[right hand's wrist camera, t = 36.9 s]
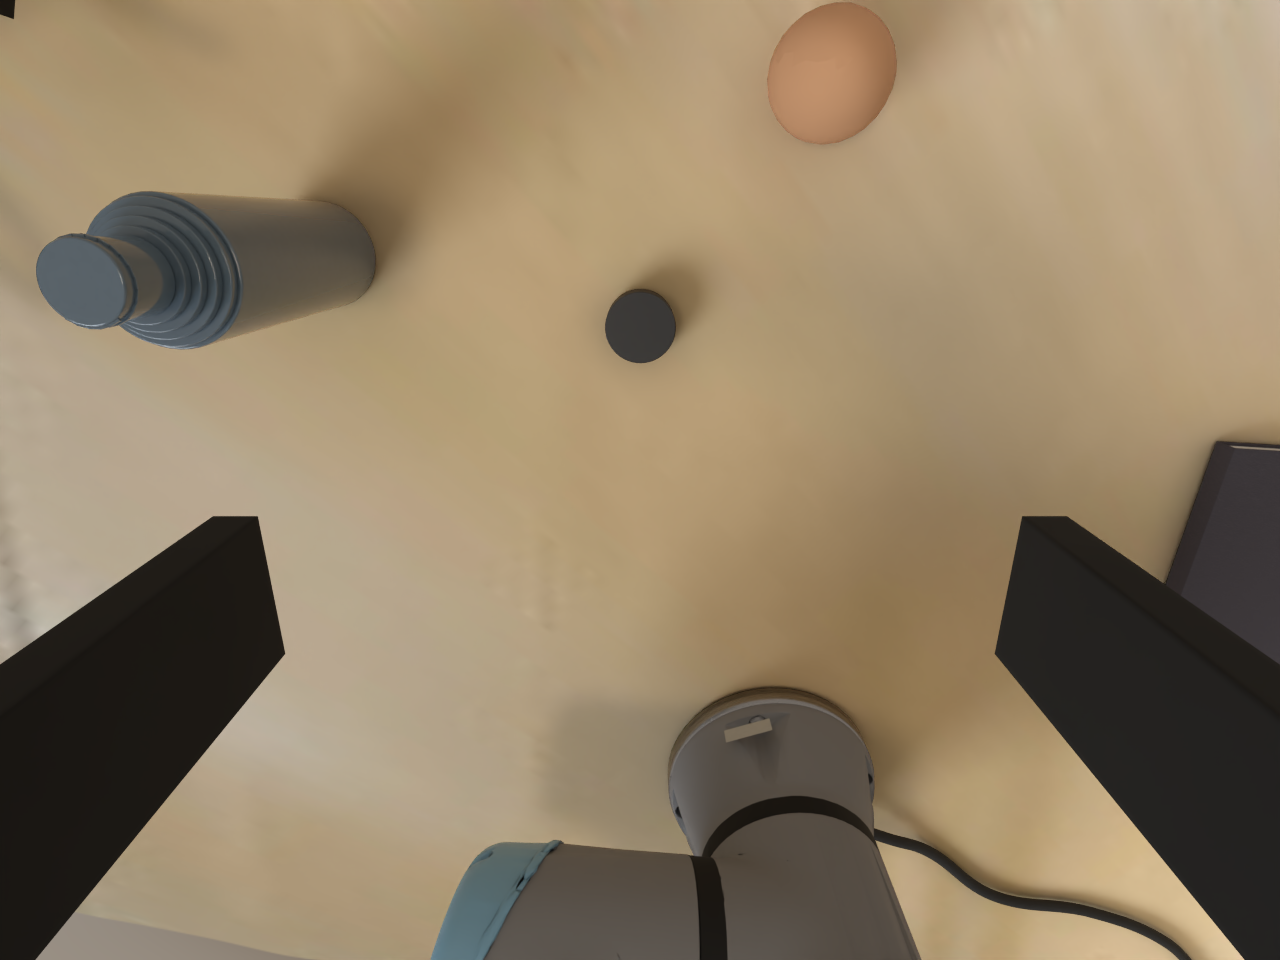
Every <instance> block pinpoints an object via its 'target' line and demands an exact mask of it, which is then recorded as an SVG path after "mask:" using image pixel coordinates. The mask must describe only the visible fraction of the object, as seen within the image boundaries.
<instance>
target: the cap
mask: <svg viewBox="0 0 1280 960" xmlns="http://www.w3.org/2000/svg"><path fill="white" fill-rule="evenodd" d="M675 329H676V326H675V319H674V316H673V313H672V310H671V308H670V306H669V304H668V303H667V302H666V300H665V299H664V298H663V297H661V296H660V295H659V294H657V293H655V292H653V291H650V290H646V289H635V290H631V291H628V292H626V293H624V294H622V295H621V296H619V297H618V298H617V299H616V300H615V301H614V303H613V304H612V306H611V307H610V310H609V312H608V315H607V318H606V324H605V331H606V337H607V340H608V342H609V344H610V346H611V348H612V349H613V350H614V351H615V352H616V354H618V355H619V356H620V357H622V358H623V359H625V360H627V361H630V362H635V363H646V362H651V361H653V360H656V359H658V358H659V357H661V356H662V355H663V354H664V353H665V352H666V351H667V350H668V349H669V347H670V346H671V344H672V342H673V339H674V336H675Z"/></svg>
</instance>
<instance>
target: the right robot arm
mask: <svg viewBox="0 0 1280 960" xmlns="http://www.w3.org/2000/svg"><path fill="white" fill-rule="evenodd" d="M284 655H285V650H284V645H283V640H282V635H281V630H280V625H279V620H278V615H277V610H276V605H275V600H274V595H273V590H272V585H271V580H270V575H269V570H268V565H267V560H266V555H265V550H264V545H263V541H262V536H261V531H260V526H259V521H258V516H213V517H211V518H210V519H209V520H207V521H206V522H204V523H203V524H201V525H200V526H199V527H197V528H196V529H194V530H193V531H191V532H190V533H188V534H187V535H186V536H184V537H183V538H181V539H180V540H178V541H177V542H176V543H174V544H173V545H171V546H170V547H168V548H167V549H165V550H164V551H163V552H161V553H160V554H158V555H157V556H155V557H154V558H153V559H151V560H150V561H148V562H147V563H145V564H144V565H142V566H141V567H140V568H138V569H137V570H135V571H134V572H132V573H131V574H130V575H128V576H127V577H125V578H124V579H122V580H121V581H119V582H118V583H117V584H115V585H114V586H112V587H111V588H109V589H108V590H107V591H105V592H104V593H102V594H101V595H99V596H98V597H96V598H95V599H94V600H92V601H91V602H89V603H88V604H86V605H85V606H84V607H82V608H81V609H79V610H78V611H76V612H75V613H73V614H72V615H71V616H69V617H68V618H66V619H65V620H63V621H62V622H61V623H59V624H58V625H56V626H55V627H53V628H52V629H51V630H49V631H48V632H46V633H45V634H43V635H42V636H40V637H39V638H38V639H36V640H35V641H33V642H32V643H30V644H29V645H28V646H26V647H25V648H23V649H22V650H20V651H19V652H17V653H16V654H15V655H13V656H12V657H10V658H9V659H7V660H6V661H5V662H3V663H2V664H0V960H36V958H37V957H38V956H39V955H40V953H41V952H42V951H43V950H44V948H45V947H46V946H47V945H48V944H49V942H50V941H51V940H52V939H53V937H54V936H55V935H56V934H57V933H58V931H59V930H60V929H61V928H62V926H63V925H64V924H65V923H66V921H67V920H68V919H69V918H70V917H71V915H72V914H73V913H74V912H75V911H76V909H77V908H78V907H79V906H80V904H81V903H82V902H83V901H84V899H85V898H86V897H87V896H88V895H89V893H90V892H91V891H92V890H93V888H94V887H95V886H96V885H97V884H98V882H99V881H100V880H101V879H102V877H103V876H104V875H105V874H106V873H107V871H108V870H109V869H110V868H111V866H112V865H113V864H114V863H115V862H116V860H117V859H118V858H119V857H120V855H121V854H122V853H123V852H124V851H125V849H126V848H127V847H128V846H129V844H130V843H131V842H132V841H133V839H134V838H135V837H136V836H137V835H138V833H139V832H140V831H141V830H142V828H143V827H144V826H145V825H146V824H147V822H148V821H149V820H150V819H151V817H152V816H153V815H154V814H155V813H156V811H157V810H158V809H159V808H160V806H161V805H162V804H163V803H164V802H165V800H166V799H167V798H168V797H169V795H170V794H171V793H172V792H173V791H174V789H175V788H176V787H177V786H178V784H179V783H180V782H181V781H182V779H183V778H184V777H185V776H186V775H187V773H188V772H189V771H190V770H191V768H192V767H193V766H194V765H195V764H196V762H197V761H198V760H199V759H200V757H201V756H202V755H203V754H204V753H205V751H206V750H207V749H208V748H209V746H210V745H211V744H212V743H213V742H214V740H215V739H216V738H217V737H218V735H219V734H220V733H221V732H222V731H223V729H224V728H225V727H226V726H227V724H228V723H229V722H230V721H231V719H232V718H233V717H234V716H235V715H236V713H237V712H238V711H239V710H240V708H241V707H242V706H243V705H244V704H245V702H246V701H247V700H248V699H249V697H250V696H251V695H252V694H253V693H254V691H255V690H256V689H257V688H258V686H259V685H260V684H261V683H262V682H263V680H264V679H265V678H266V677H267V675H268V674H269V673H270V672H271V671H272V669H273V668H274V667H275V666H276V664H277V663H278V662H279V661H280V659H281V658H282V657H283V656H284ZM995 655H996V656H997V657H998V658H999V659H1000V661H1001V662H1002V663H1003V664H1004V666H1005V667H1006V668H1007V669H1008V671H1009V672H1010V673H1011V674H1012V675H1013V677H1014V678H1015V679H1016V680H1017V682H1018V683H1019V684H1020V685H1021V686H1022V688H1023V689H1024V690H1025V691H1026V693H1027V694H1028V695H1029V696H1030V697H1031V699H1032V700H1033V701H1034V702H1035V704H1036V705H1037V706H1038V707H1039V708H1040V710H1041V711H1042V712H1043V713H1044V715H1045V716H1046V717H1047V718H1048V719H1049V721H1050V722H1051V723H1052V724H1053V726H1054V727H1055V728H1056V729H1057V731H1058V732H1059V733H1060V734H1061V735H1062V737H1063V738H1064V739H1065V740H1066V742H1067V743H1068V744H1069V745H1070V746H1071V748H1072V749H1073V750H1074V751H1075V753H1076V754H1077V755H1078V756H1079V757H1080V759H1081V760H1082V761H1083V762H1084V764H1085V765H1086V766H1087V767H1088V768H1089V770H1090V771H1091V772H1092V773H1093V775H1094V776H1095V777H1096V778H1097V779H1098V781H1099V782H1100V783H1101V784H1102V786H1103V787H1104V788H1105V789H1106V791H1107V792H1108V793H1109V794H1110V795H1111V797H1112V798H1113V799H1114V800H1115V802H1116V803H1117V804H1118V805H1119V806H1120V808H1121V809H1122V810H1123V811H1124V813H1125V814H1126V815H1127V816H1128V817H1129V819H1130V820H1131V821H1132V822H1133V824H1134V825H1135V826H1136V827H1137V828H1138V830H1139V831H1140V832H1141V833H1142V835H1143V836H1144V837H1145V838H1146V839H1147V841H1148V842H1149V843H1150V844H1151V846H1152V847H1153V848H1154V849H1155V851H1156V852H1157V853H1158V854H1159V855H1160V857H1161V858H1162V859H1163V860H1164V862H1165V863H1166V864H1167V865H1168V866H1169V868H1170V869H1171V870H1172V871H1173V873H1174V874H1175V875H1176V876H1177V877H1178V879H1179V880H1180V881H1181V882H1182V884H1183V885H1184V886H1185V887H1186V888H1187V890H1188V891H1189V892H1190V893H1191V895H1192V896H1193V897H1194V898H1195V900H1196V901H1197V902H1198V903H1199V904H1200V906H1201V907H1202V908H1203V909H1204V911H1205V912H1206V913H1207V914H1208V915H1209V917H1210V918H1211V919H1212V920H1213V922H1214V923H1215V924H1216V925H1217V926H1218V928H1219V929H1220V930H1221V931H1222V933H1223V934H1224V935H1225V936H1226V937H1227V939H1228V940H1229V941H1230V942H1231V944H1232V945H1233V946H1234V947H1235V948H1236V950H1237V951H1238V952H1239V953H1240V955H1241V956H1242V957H1243V958H1244V960H1280V664H1278V663H1277V662H1275V661H1274V660H1273V659H1271V658H1270V657H1268V656H1267V655H1265V654H1264V653H1263V652H1261V651H1260V650H1258V649H1257V648H1255V647H1254V646H1252V645H1251V644H1250V643H1248V642H1247V641H1245V640H1244V639H1242V638H1241V637H1240V636H1238V635H1237V634H1235V633H1234V632H1232V631H1231V630H1229V629H1228V628H1227V627H1225V626H1224V625H1222V624H1221V623H1219V622H1218V621H1217V620H1215V619H1214V618H1212V617H1211V616H1209V615H1208V614H1207V613H1205V612H1204V611H1202V610H1201V609H1199V608H1198V607H1196V606H1195V605H1194V604H1192V603H1191V602H1189V601H1188V600H1186V599H1185V598H1184V597H1182V596H1181V595H1179V594H1178V593H1176V592H1175V591H1173V590H1172V589H1171V588H1169V587H1168V586H1166V585H1165V584H1163V583H1162V582H1161V581H1159V580H1158V579H1156V578H1155V577H1153V576H1152V575H1150V574H1149V573H1148V572H1146V571H1145V570H1143V569H1142V568H1140V567H1139V566H1138V565H1136V564H1135V563H1133V562H1132V561H1130V560H1129V559H1127V558H1126V557H1125V556H1123V555H1122V554H1120V553H1119V552H1117V551H1116V550H1115V549H1113V548H1112V547H1110V546H1109V545H1107V544H1106V543H1104V542H1103V541H1102V540H1100V539H1099V538H1097V537H1096V536H1094V535H1093V534H1092V533H1090V532H1089V531H1087V530H1086V529H1084V528H1083V527H1081V526H1080V525H1079V524H1077V523H1076V522H1074V521H1073V520H1071V519H1070V518H1069V517H1067V516H1022V521H1021V526H1020V531H1019V536H1018V540H1017V545H1016V550H1015V555H1014V560H1013V565H1012V570H1011V575H1010V580H1009V585H1008V590H1007V595H1006V600H1005V605H1004V610H1003V615H1002V620H1001V625H1000V630H999V635H998V640H997V645H996V650H995ZM668 785H669V798H670V803H671V807H672V810H673V813H674V815H675V817H676V820H677V822H678V824H679V826H680V828H681V829H682V831H683V832H684V834H685V835H686V838H687V841H688V844H689V846H690V848H691V850H692V852H693V854H694V856H690V855H685V854H672V853H660V852H647V851H634V850H622V849H611V848H601V847H591V846H581V845H571V844H564V842H562V841H559V840H553V841H551V842H549V843H514V842H503V843H498V844H495V845H492V846H490V847H488V848H486V849H485V850H484V851H482V852H481V853H480V854H479V855H478V856H477V857H476V858H475V859H474V861H473V862H472V863H471V865H470V866H469V868H468V870H467V871H466V872H465V874H464V876H463V878H462V880H461V882H460V884H459V886H458V888H457V890H456V892H455V894H454V896H453V899H452V901H451V904H450V906H449V908H448V911H447V914H446V916H445V919H444V921H443V924H442V927H441V930H440V932H439V935H438V938H437V941H436V944H435V947H434V950H433V953H432V957H431V960H921V958H920V955H919V953H918V950H917V947H916V945H915V942H914V940H913V937H912V934H911V932H910V929H909V927H908V924H907V922H906V919H905V916H904V914H903V911H902V909H901V906H900V904H899V901H898V898H897V896H896V893H895V891H894V888H893V885H892V883H891V880H890V878H889V875H888V873H887V870H886V867H885V865H884V862H883V860H882V857H881V854H880V852H879V849H878V847H877V844H876V841H879V842H882V843H886V844H889V845H892V846H896V847H900V848H904V849H908V850H912V851H915V852H918V853H920V854H923V855H925V856H927V857H928V858H930V859H932V860H934V861H935V862H937V863H938V864H939V865H941V866H942V867H943V868H945V869H946V870H947V871H948V872H950V873H951V874H952V875H953V876H954V877H955V878H957V879H958V880H959V881H960V882H961V883H963V884H964V885H965V886H967V887H968V888H969V889H971V890H972V891H974V892H976V893H977V894H979V895H981V896H983V897H985V898H987V899H989V900H992V901H994V902H997V903H1000V904H1004V905H1007V906H1011V907H1016V908H1021V909H1028V910H1038V911H1051V912H1062V913H1070V914H1077V915H1082V916H1086V917H1090V918H1094V919H1098V920H1101V921H1105V922H1108V923H1112V924H1115V925H1118V926H1121V927H1124V928H1127V929H1129V930H1132V931H1135V932H1137V933H1139V934H1141V935H1144V936H1146V937H1148V938H1150V939H1151V940H1153V941H1155V942H1157V943H1158V944H1160V945H1162V946H1163V947H1165V948H1166V949H1168V950H1169V951H1170V952H1172V953H1173V954H1174V955H1175V956H1176V957H1177V958H1178V959H1179V960H1191V959H1190V957H1189V956H1188V955H1187V954H1186V953H1185V952H1184V951H1183V950H1182V949H1181V948H1180V947H1179V946H1178V945H1177V944H1176V943H1175V942H1173V941H1172V940H1171V939H1169V938H1168V937H1166V936H1164V935H1163V934H1161V933H1159V932H1158V931H1156V930H1154V929H1152V928H1150V927H1148V926H1146V925H1144V924H1142V923H1139V922H1137V921H1134V920H1132V919H1129V918H1126V917H1123V916H1120V915H1117V914H1114V913H1111V912H1107V911H1104V910H1100V909H1096V908H1093V907H1089V906H1085V905H1081V904H1076V903H1070V902H1063V901H1053V900H1041V899H1030V898H1022V897H1016V896H1011V895H1007V894H1003V893H1000V892H997V891H995V890H992V889H990V888H988V887H986V886H984V885H982V884H981V883H979V882H977V881H976V880H975V879H973V878H972V877H970V876H969V875H968V874H967V873H965V872H964V871H963V870H962V869H961V868H960V867H958V866H957V865H956V864H955V863H954V862H953V861H951V860H950V859H949V858H948V857H946V856H945V855H943V854H942V853H941V852H939V851H937V850H936V849H934V848H932V847H930V846H928V845H926V844H924V843H921V842H919V841H916V840H912V839H909V838H905V837H901V836H897V835H893V834H890V833H887V832H884V831H881V830H878V829H875V828H874V812H873V806H872V802H873V797H874V769H873V764H872V760H871V757H870V755H869V752H868V750H867V747H866V745H865V743H864V740H863V738H862V736H861V734H860V732H859V730H858V729H857V727H856V726H855V724H854V723H853V722H852V720H851V719H850V718H849V717H848V716H847V715H846V714H845V713H844V712H843V711H841V710H840V709H839V708H838V707H836V706H835V705H833V704H832V703H830V702H828V701H826V700H824V699H822V698H820V697H818V696H815V695H813V694H810V693H806V692H803V691H798V690H793V689H784V688H763V689H755V690H749V691H745V692H740V693H737V694H734V695H731V696H729V697H726V698H724V699H721V700H719V701H717V702H716V703H714V704H712V705H710V706H709V707H707V708H706V709H704V710H703V711H702V712H700V713H699V714H698V715H696V716H695V717H694V718H693V719H692V720H691V721H690V722H689V723H688V724H687V726H686V727H685V728H684V729H683V731H682V732H681V733H680V735H679V736H678V738H677V740H676V742H675V744H674V746H673V749H672V751H671V755H670V758H669V764H668ZM875 840H876V841H875Z"/></svg>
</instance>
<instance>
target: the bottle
mask: <svg viewBox="0 0 1280 960" xmlns="http://www.w3.org/2000/svg"><path fill="white" fill-rule="evenodd" d="M375 264H376V263H375V252H374V247H373V244H372V241H371V239H370V236H369V234H368V233H367V231H366V229H365V228H364V226H363V225H362V224H361V222H360V221H359V220H358V219H357V218H356V217H355V216H354V215H352V214H351V213H350V212H348V211H347V210H346V209H344V208H342V207H340V206H338V205H335V204H333V203H329V202H325V201H313V200H296V199H278V198H261V197H244V196H226V195H209V194H191V193H174V192H157V191H142V192H135V193H130V194H128V195H125V196H122V197H120V198H118V199H116V200H115V201H113V202H112V203H110V204H109V205H108V206H106V207H105V208H104V209H103V210H101V211H100V212H99V213H98V215H97V216H96V217H95V218H94V220H93V221H92V223H91V224H90V226H89V229H88V231H87V233H86V234H83V233H80V234H68V235H64V236H60V237H58V238H57V239H55V240H54V241H52V242H50V243H49V244H48V245H47V246H46V247H45V248H44V249H43V250H42V252H41V253H40V255H39V258H38V261H37V266H36V275H37V281H38V284H39V287H40V290H41V292H42V294H43V296H44V297H45V299H46V300H47V302H48V303H49V304H50V306H51V307H52V308H53V309H54V310H55V311H56V312H57V313H59V314H60V315H61V316H63V317H64V318H65V319H66V320H68V321H70V322H72V323H74V324H76V325H77V326H81V327H84V328H88V329H104V328H108V327H114V326H118V325H119V326H121V327H122V328H123V329H124V330H126V331H127V332H129V333H131V334H132V335H134V336H136V337H138V338H140V339H142V340H144V341H147V342H150V343H152V344H156V345H159V346H162V347H167V348H171V349H194V348H199V347H203V346H206V345H210V344H213V343H217V342H220V341H224V340H227V339H230V338H234V337H237V336H241V335H244V334H248V333H251V332H254V331H258V330H261V329H265V328H268V327H272V326H275V325H278V324H282V323H285V322H289V321H292V320H296V319H299V318H303V317H306V316H309V315H313V314H316V313H320V312H323V311H327V310H330V309H333V308H337V307H340V306H344V305H347V304H350V303H352V302H354V301H355V300H357V299H358V298H360V297H361V296H362V295H363V294H364V293H365V291H366V290H367V289H368V287H369V285H370V284H371V282H372V279H373V276H374V272H375Z"/></svg>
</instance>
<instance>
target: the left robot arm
mask: <svg viewBox="0 0 1280 960" xmlns="http://www.w3.org/2000/svg"><path fill="white" fill-rule="evenodd" d="M14 8H15V0H0V14H1V15H4V16H6V17H9V18H12V19H14Z"/></svg>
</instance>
